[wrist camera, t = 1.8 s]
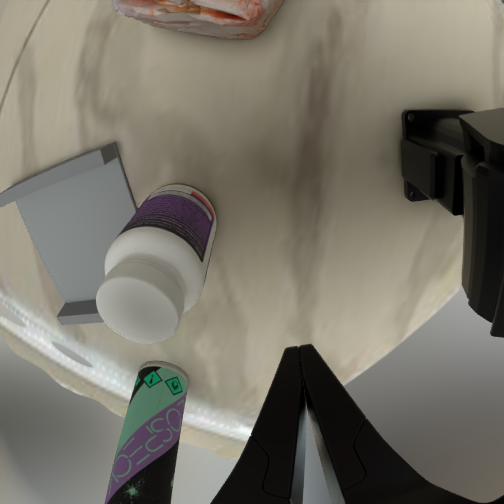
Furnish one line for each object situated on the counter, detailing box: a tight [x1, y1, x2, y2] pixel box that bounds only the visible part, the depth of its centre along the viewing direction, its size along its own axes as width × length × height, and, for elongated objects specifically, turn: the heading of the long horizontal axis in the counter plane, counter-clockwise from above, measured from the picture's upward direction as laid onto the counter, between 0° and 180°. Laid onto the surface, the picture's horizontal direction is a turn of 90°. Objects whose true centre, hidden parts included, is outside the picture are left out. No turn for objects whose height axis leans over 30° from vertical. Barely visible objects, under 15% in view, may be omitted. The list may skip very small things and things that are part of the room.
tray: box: [0, 142, 137, 325], centre depth 21 cm, size 11×13×2 cm
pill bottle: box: [96, 184, 217, 344], centre depth 17 cm, size 5×5×10 cm
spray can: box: [105, 361, 188, 504], centre depth 22 cm, size 6×6×20 cm
